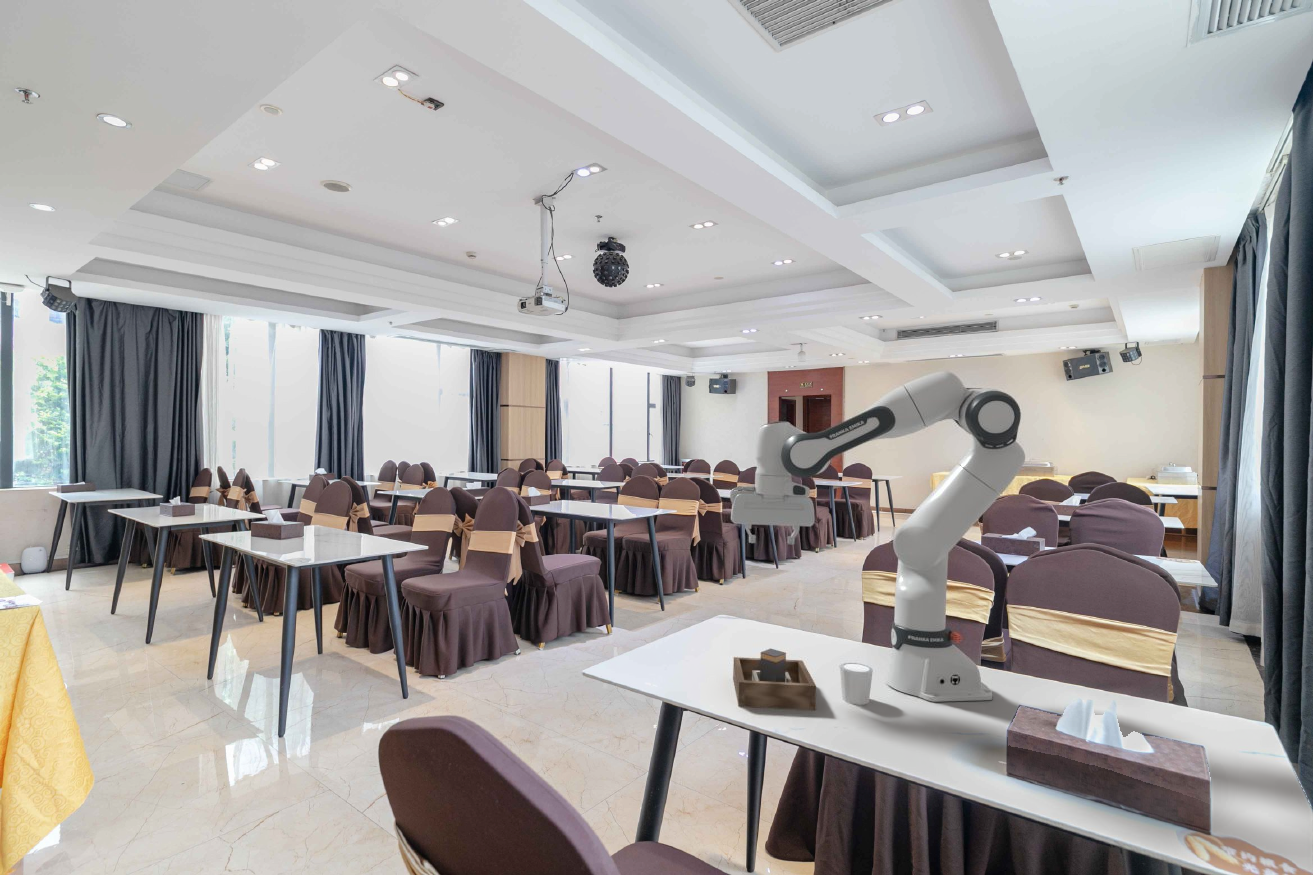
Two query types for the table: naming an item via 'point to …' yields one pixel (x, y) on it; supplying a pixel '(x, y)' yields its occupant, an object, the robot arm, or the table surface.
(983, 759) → the table surface
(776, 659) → the dark grey banded block
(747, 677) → the walnut box
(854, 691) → the white cup
